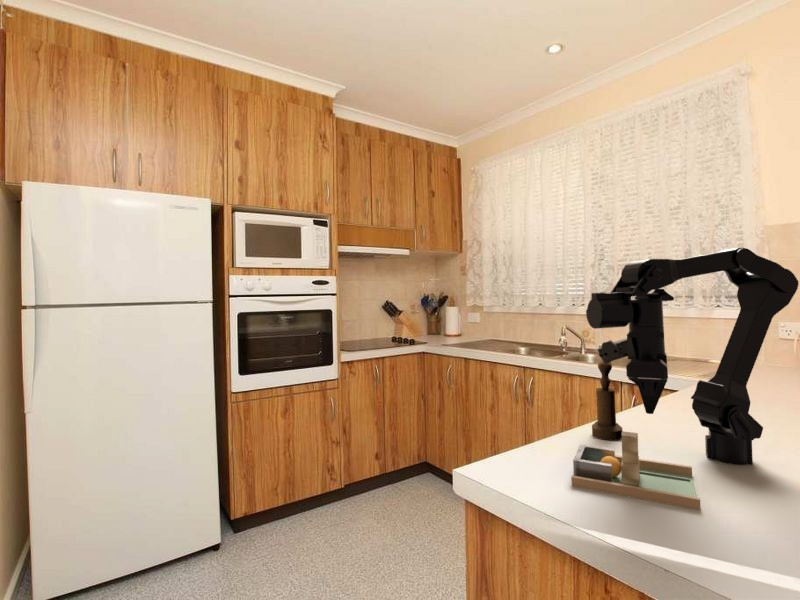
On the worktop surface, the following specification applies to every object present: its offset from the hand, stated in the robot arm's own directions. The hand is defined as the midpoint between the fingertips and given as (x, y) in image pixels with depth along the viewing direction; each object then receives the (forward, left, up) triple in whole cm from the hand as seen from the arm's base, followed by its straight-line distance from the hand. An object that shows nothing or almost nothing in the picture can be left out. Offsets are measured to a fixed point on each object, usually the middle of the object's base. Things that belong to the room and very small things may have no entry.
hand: (650, 407), depth 80 cm
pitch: (+3, +10, -12) cm, 16 cm away
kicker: (+3, +10, -11) cm, 15 cm away
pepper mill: (+9, -17, -12) cm, 23 cm away
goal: (+9, +10, -11) cm, 17 cm away
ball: (+6, +10, -9) cm, 15 cm away
